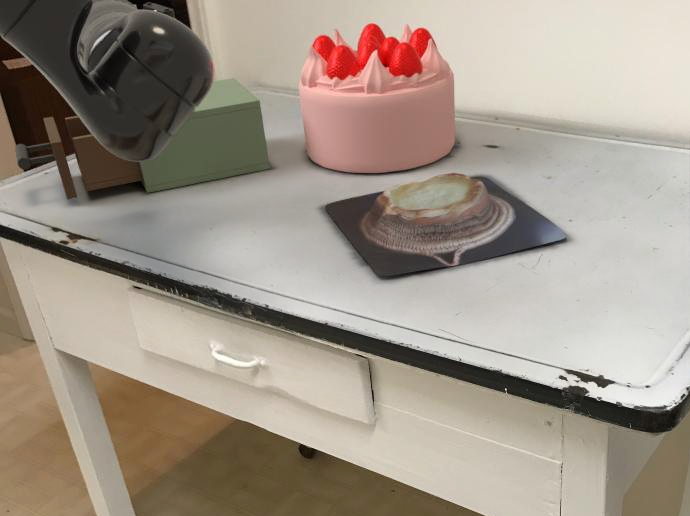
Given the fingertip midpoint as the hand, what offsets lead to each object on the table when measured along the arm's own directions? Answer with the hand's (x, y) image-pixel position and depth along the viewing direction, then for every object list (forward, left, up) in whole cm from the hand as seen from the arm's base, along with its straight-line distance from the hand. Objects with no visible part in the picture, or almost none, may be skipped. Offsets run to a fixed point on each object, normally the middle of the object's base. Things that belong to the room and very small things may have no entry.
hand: (92, 16), depth 88 cm
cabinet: (+9, +11, -21) cm, 26 cm away
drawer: (-2, +11, -20) cm, 23 cm away
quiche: (+28, -22, -21) cm, 42 cm away
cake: (+32, +4, -21) cm, 39 cm away
